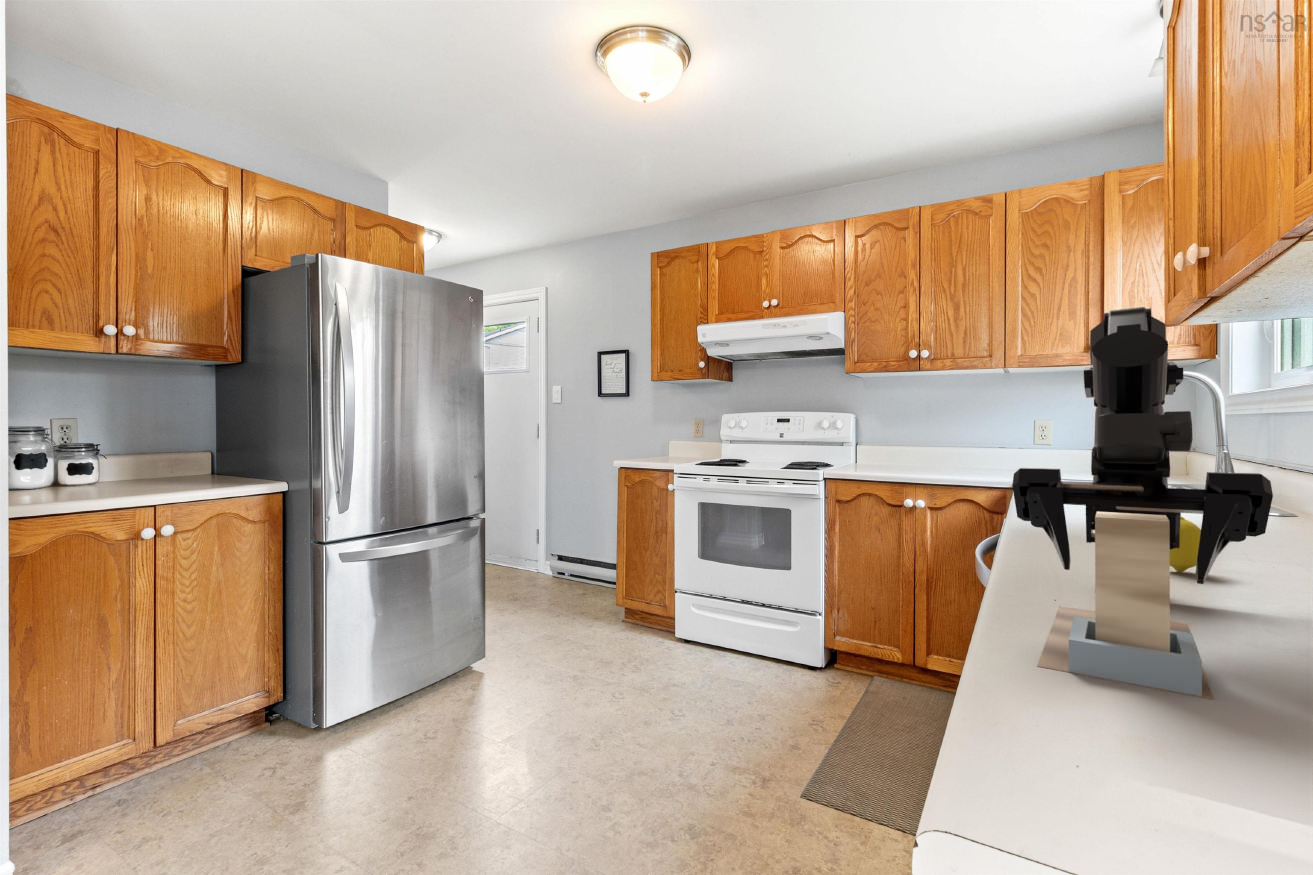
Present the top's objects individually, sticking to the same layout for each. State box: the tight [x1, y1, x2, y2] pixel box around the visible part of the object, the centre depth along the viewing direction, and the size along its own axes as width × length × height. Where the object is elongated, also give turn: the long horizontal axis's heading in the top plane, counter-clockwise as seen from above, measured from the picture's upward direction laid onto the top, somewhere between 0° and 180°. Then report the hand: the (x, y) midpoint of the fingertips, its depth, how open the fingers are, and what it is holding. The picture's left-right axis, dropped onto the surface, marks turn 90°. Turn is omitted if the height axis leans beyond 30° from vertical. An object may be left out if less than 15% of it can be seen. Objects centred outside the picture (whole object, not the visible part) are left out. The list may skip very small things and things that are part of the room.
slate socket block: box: [1069, 617, 1203, 698], centre depth 49 cm, size 8×8×2 cm
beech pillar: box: [1094, 512, 1171, 652], centre depth 49 cm, size 4×4×12 cm
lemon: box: [1170, 516, 1201, 573], centre depth 88 cm, size 6×6×8 cm
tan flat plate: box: [1037, 605, 1214, 701], centre depth 55 cm, size 22×10×1 cm, turn 143°
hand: (1130, 573), depth 54 cm, fingers open, 9 cm apart
